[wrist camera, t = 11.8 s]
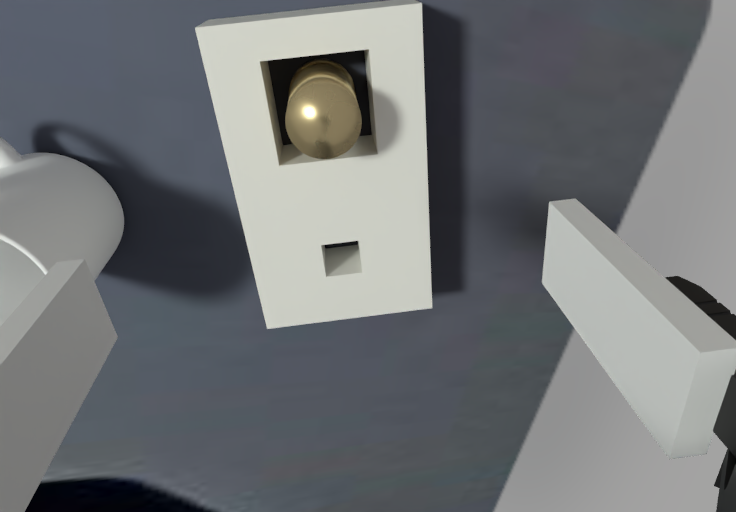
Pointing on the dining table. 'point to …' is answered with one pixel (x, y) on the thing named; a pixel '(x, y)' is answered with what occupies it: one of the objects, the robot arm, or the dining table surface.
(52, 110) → the dining table surface
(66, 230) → the mug
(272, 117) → the block
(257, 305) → the dining table surface
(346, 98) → the cylinder
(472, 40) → the dining table surface
